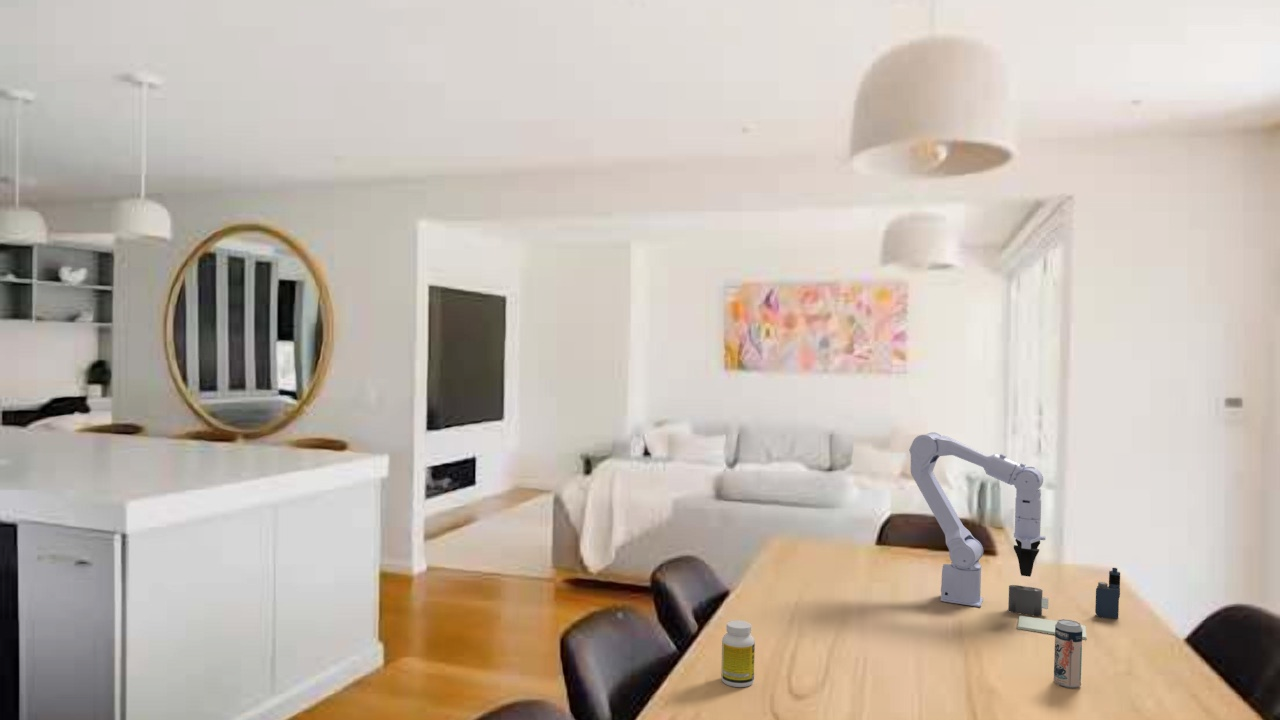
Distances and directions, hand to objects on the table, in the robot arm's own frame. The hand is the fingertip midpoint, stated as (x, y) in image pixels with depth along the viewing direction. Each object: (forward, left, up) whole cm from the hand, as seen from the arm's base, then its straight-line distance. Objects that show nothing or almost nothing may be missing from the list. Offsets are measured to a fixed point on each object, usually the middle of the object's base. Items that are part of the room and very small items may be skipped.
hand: (1026, 572), depth 203 cm
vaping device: (+18, +7, -10) cm, 22 cm away
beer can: (+9, -45, -10) cm, 47 cm away
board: (+6, -10, -10) cm, 15 cm away
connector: (0, 0, -10) cm, 10 cm away
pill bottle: (-47, -76, -10) cm, 90 cm away
